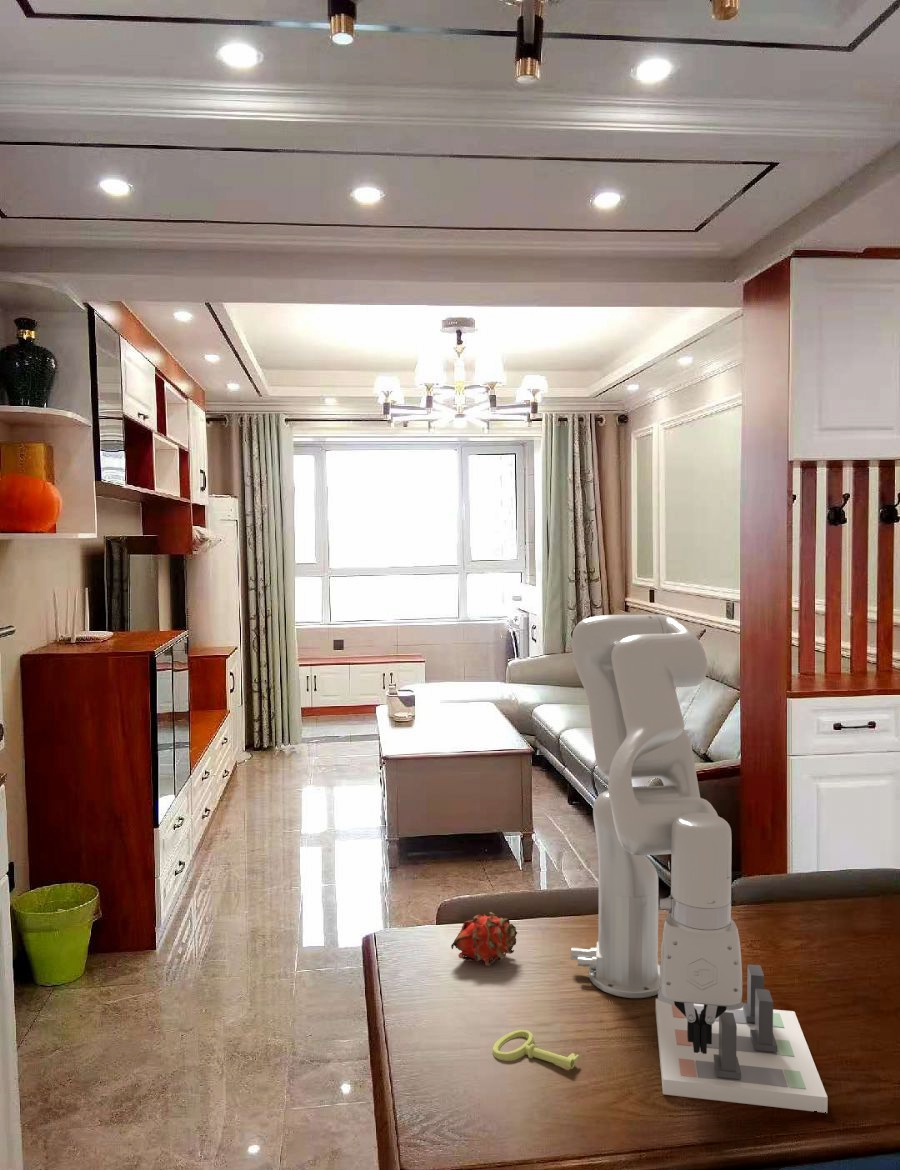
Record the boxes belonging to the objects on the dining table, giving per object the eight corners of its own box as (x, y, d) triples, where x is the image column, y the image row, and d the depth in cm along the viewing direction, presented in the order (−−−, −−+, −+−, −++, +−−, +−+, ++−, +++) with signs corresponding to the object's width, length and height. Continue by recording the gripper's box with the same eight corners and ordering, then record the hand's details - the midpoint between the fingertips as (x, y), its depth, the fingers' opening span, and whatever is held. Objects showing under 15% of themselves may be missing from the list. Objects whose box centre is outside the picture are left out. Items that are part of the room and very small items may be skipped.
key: (575, 1078, 115) (575, 1063, 114) (487, 1061, 119) (487, 1046, 119) (585, 1049, 121) (585, 1034, 121) (502, 1033, 125) (502, 1019, 125)
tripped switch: (716, 1076, 110) (717, 1025, 110) (713, 1060, 114) (714, 1010, 113) (741, 1079, 110) (741, 1027, 109) (737, 1062, 113) (737, 1012, 113)
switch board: (662, 1094, 110) (663, 1078, 110) (655, 1011, 130) (655, 997, 130) (827, 1112, 107) (827, 1096, 107) (794, 1024, 126) (794, 1010, 126)
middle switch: (754, 1049, 116) (754, 1001, 116) (750, 1034, 120) (750, 987, 119) (777, 1052, 116) (778, 1003, 115) (772, 1037, 119) (773, 989, 119)
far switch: (746, 1021, 123) (746, 975, 123) (742, 1008, 126) (743, 963, 126) (768, 1023, 122) (768, 977, 122) (763, 1010, 126) (764, 965, 126)
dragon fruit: (523, 966, 147) (457, 985, 144) (507, 921, 154) (443, 939, 151) (528, 941, 142) (459, 961, 139) (510, 896, 148) (444, 914, 145)
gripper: (642, 918, 109) (641, 1057, 110) (765, 928, 106) (763, 1071, 107) (641, 894, 117) (640, 1025, 117) (756, 903, 114) (754, 1037, 114)
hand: (699, 1047), depth 112 cm, fingers closed
